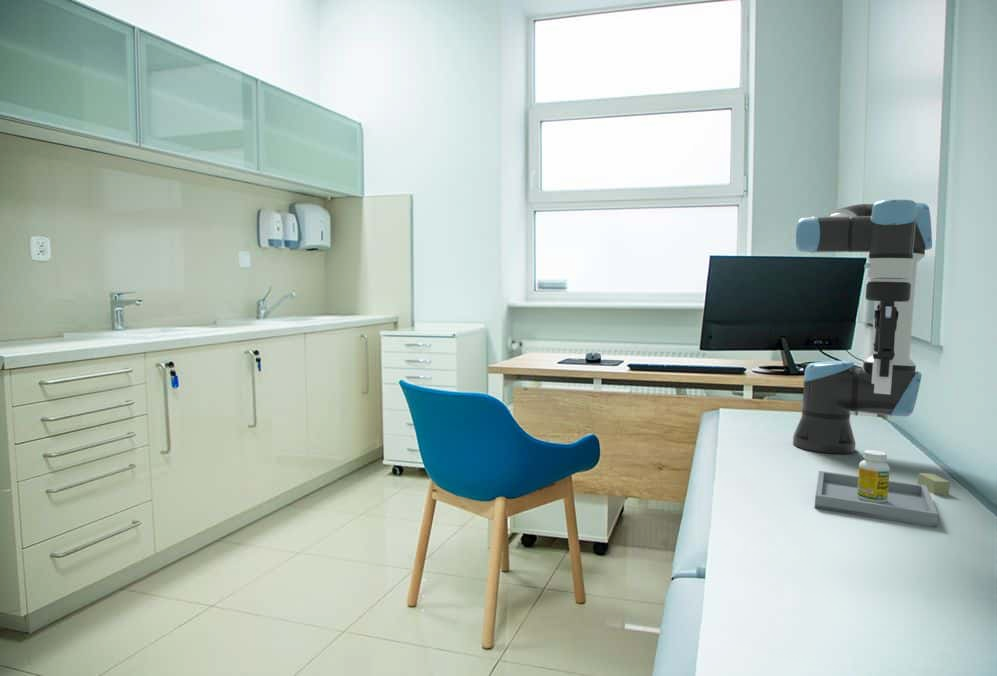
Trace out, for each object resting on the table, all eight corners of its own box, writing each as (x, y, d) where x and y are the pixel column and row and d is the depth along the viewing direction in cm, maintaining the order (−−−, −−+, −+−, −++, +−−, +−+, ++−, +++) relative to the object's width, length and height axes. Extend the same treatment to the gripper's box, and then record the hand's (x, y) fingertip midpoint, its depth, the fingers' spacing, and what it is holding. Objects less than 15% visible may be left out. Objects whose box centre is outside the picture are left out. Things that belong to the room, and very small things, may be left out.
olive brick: (917, 486, 147) (918, 473, 147) (931, 487, 147) (932, 473, 147) (933, 495, 141) (934, 481, 141) (948, 495, 141) (949, 481, 141)
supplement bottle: (865, 493, 138) (869, 447, 137) (892, 501, 134) (896, 453, 133) (851, 497, 135) (854, 450, 135) (878, 505, 131) (882, 457, 130)
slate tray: (818, 481, 148) (819, 470, 148) (925, 497, 139) (926, 485, 139) (814, 507, 130) (815, 495, 130) (936, 527, 121) (938, 514, 121)
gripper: (865, 280, 144) (858, 378, 146) (868, 280, 122) (860, 396, 124) (906, 281, 140) (898, 382, 142) (917, 281, 118) (907, 400, 120)
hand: (880, 388), depth 133 cm, fingers open, 13 cm apart
